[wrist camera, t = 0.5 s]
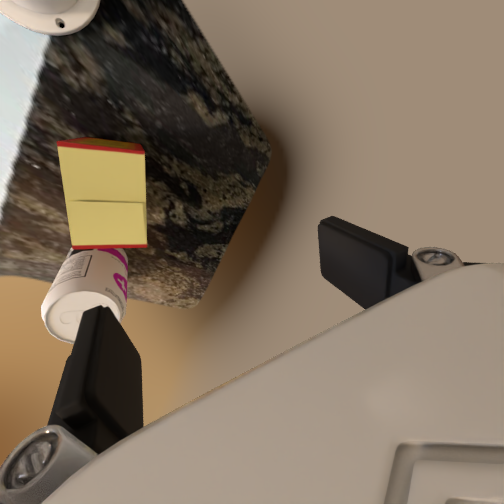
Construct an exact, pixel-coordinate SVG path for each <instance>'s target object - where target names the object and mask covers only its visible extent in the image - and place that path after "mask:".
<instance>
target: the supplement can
mask: <svg viewBox="0 0 504 504" xmlns="http://www.w3.org/2000/svg"><path fill="white" fill-rule="evenodd" d="M127 273H128V258H127V255H126V253H125V251H124V250H123V249H122V248H108V249H73V248H71V249H70V251H69V253H68V255H67V257H66V259H65V261H64V263H63V265H62V267H61V268H60V270H59V272H58V274H57V276H56V278H55V280H54V282H53V284H52V286H51V288H50V290H49V291H48V293H47V295H46V297H45V299H44V302H43V304H42V306H41V312H42V319H43V320H44V322H45V327H46V328H47V330H48V331H49V333H50V334H51V335H52V336H54V337H56V338H57V339H59V340H60V341H64V342H68V343H71V344H74V342H75V339H76V335H77V332H78V328H79V324H80V321H81V317H82V314H83V312H84V311H86V310H88V309H91V308H94V307H96V306H99V305H102V306H103V307H107V306H108V307H110V309H111V310H112V312H113V313H114V315H115V316H116V318H117V320H118V321H119V323H121V321H122V319H123V318H124V316H125V314H126V300H127Z"/></svg>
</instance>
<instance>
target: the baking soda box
mask: <svg viewBox="0 0 504 504" xmlns="http://www.w3.org/2000/svg"><path fill="white" fill-rule="evenodd" d="M57 146H58V153H59V160H60V167H61V173H62V180H63V187H64V194H65V201H66V207H67V214H68V221H69V228H70V235H71V242H72V248H73V249H108V248H144V247H147V223H146V184H145V151H144V149H143V148H142V146H141V144H137V143H129V142H121V141H113V140H105V139H97V138H90V137H83V138H76V139H69V140H62V141H57Z"/></svg>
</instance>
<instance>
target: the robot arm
mask: <svg viewBox="0 0 504 504" xmlns="http://www.w3.org/2000/svg"><path fill="white" fill-rule="evenodd" d="M99 4H100V0H0V13H1V14H2V15H4V16H6V17H7V18H9V19H10V20H12V21H13V22H15V23H16V24H19V25H21V26H23V27H25V28H27V29H29V30H31V31H35V32H38V33H42V34H46V35H55V36H60V35H69V34H72V33H75V32H78V31H80V30H81V29H83V28H84V27H85V26H87V25H88V24H89V23H90V21H91V20H92V19H93V18H94V16H95V14H96V12H97V10H98V8H99ZM60 23H63V24H64V28H61V27H60ZM318 239H319V253H320V266H321V273H322V276H323V277H324V278H325V279H326V280H328V281H329V282H330V283H331V284H333V285H334V286H335V287H337V288H338V289H339V290H341V291H342V292H343V293H345V294H346V295H347V296H349V297H350V298H351V299H352V300H354V301H355V302H356V303H358V304H359V305H360V306H362V307H363V308H364V309H365V310H364V311H362V312H360V313H358V314H356V315H354V316H352V317H350V318H348V319H346V320H344V321H342V322H340V323H339V324H337V325H335V326H333V327H331V328H329V329H327V330H325V331H323V332H321V333H319V334H317V335H315V336H314V337H312V338H310V339H308V340H306V341H304V342H302V343H300V344H298V345H296V346H294V347H292V348H290V349H289V350H287V351H285V352H283V353H281V354H279V355H277V356H275V357H273V358H271V359H269V360H267V361H265V362H264V363H262V364H260V365H258V366H256V367H254V368H252V369H250V370H248V371H247V372H245V373H243V374H241V375H239V376H238V377H235V378H233V379H231V380H230V381H228V382H226V383H224V384H222V385H220V386H218V387H216V388H214V389H212V390H211V391H209V392H207V393H205V394H203V395H201V396H199V397H197V398H195V399H194V400H192V401H190V402H188V403H186V404H184V405H183V406H181V407H179V408H177V409H175V410H173V411H172V412H170V413H168V414H166V415H164V416H162V417H161V418H159V419H157V420H155V421H154V422H152V423H150V424H148V425H146V426H144V427H143V399H142V369H141V358H140V355H139V353H138V351H137V350H136V348H135V347H134V345H133V343H132V342H131V340H130V339H129V337H128V335H127V334H126V332H125V331H124V329H123V328H122V326H121V324H120V323H119V321H118V320H117V318H116V316H115V315H114V313H113V312H112V310H111V309H110V307H108V306H107V307H103V306H102V305H99V306H96V307H94V308H91V309H88V310H86V311H84V312H83V314H82V317H81V321H80V324H79V328H78V332H77V335H76V339H75V342H74V346H73V349H72V353H71V355H70V356H69V357H68V359H67V361H66V364H65V367H64V371H63V374H62V378H61V381H60V384H59V388H58V391H57V394H56V398H55V401H54V405H53V408H52V412H51V415H50V418H49V421H48V425H47V426H46V427H43V428H41V429H38V430H37V431H35V432H34V433H32V434H31V435H29V436H28V437H27V438H25V439H24V440H23V441H22V442H21V443H19V444H18V445H17V446H16V448H15V449H14V450H13V451H12V452H11V453H10V454H9V455H8V457H7V458H6V460H5V461H4V463H3V464H2V465H1V467H0V504H504V264H503V263H467V262H462V261H461V260H460V258H459V257H458V256H457V255H456V254H455V253H453V252H451V251H449V250H446V249H442V248H437V247H425V248H420V249H417V250H415V251H414V252H413V254H412V256H410V255H408V247H407V246H404V245H402V244H399V243H397V242H395V241H392V240H390V239H388V238H385V237H383V236H380V235H378V234H376V233H373V232H371V231H368V230H366V229H363V228H361V227H359V226H356V225H354V224H351V223H349V222H347V221H344V220H342V219H339V218H337V217H334V216H331V217H328V218H325V219H323V220H321V221H320V224H319V225H318Z"/></svg>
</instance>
